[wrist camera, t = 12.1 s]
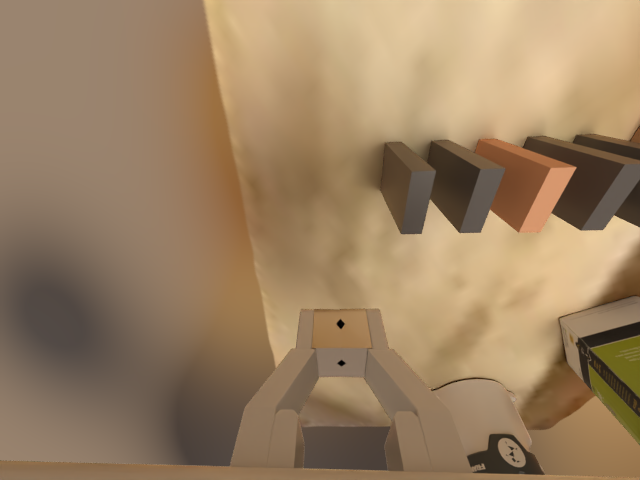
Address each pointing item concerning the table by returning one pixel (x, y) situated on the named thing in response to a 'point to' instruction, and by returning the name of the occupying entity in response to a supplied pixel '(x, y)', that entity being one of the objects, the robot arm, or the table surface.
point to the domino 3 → (525, 184)
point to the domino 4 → (589, 181)
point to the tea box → (608, 356)
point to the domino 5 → (636, 205)
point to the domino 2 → (463, 184)
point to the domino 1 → (406, 186)
